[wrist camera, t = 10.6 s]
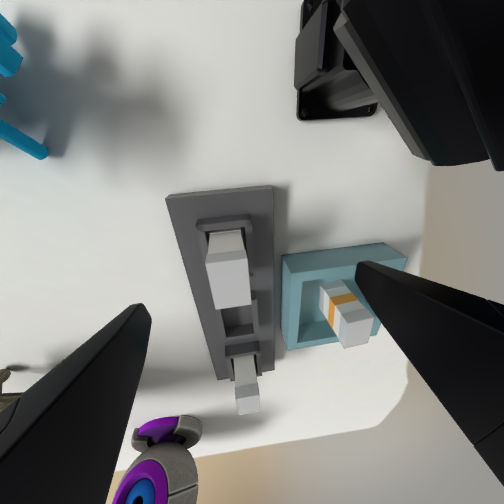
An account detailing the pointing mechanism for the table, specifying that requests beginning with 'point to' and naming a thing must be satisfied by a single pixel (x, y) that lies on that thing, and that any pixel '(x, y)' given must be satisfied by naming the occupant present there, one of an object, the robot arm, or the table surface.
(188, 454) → the webcam
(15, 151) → the table surface
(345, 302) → the marked fuse
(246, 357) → the block
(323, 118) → the robot arm
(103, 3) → the table surface
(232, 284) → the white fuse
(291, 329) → the tray
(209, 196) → the fuse holder
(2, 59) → the gear
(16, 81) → the table surface
